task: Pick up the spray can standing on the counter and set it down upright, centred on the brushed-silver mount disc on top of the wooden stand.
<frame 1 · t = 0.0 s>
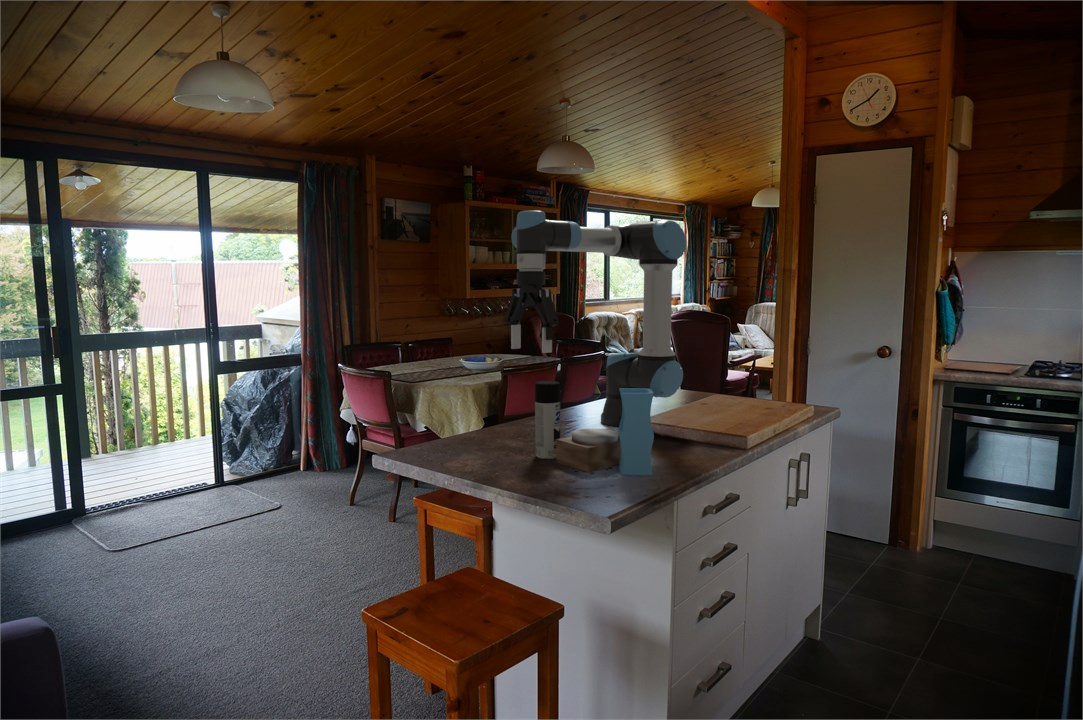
hand: (531, 350, 188), 28 cm above the countertop, fingers open, 13 cm apart
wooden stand: (594, 461, 182), on the countertop
spray can: (547, 457, 188), on the countertop
vase: (635, 471, 174), on the countertop
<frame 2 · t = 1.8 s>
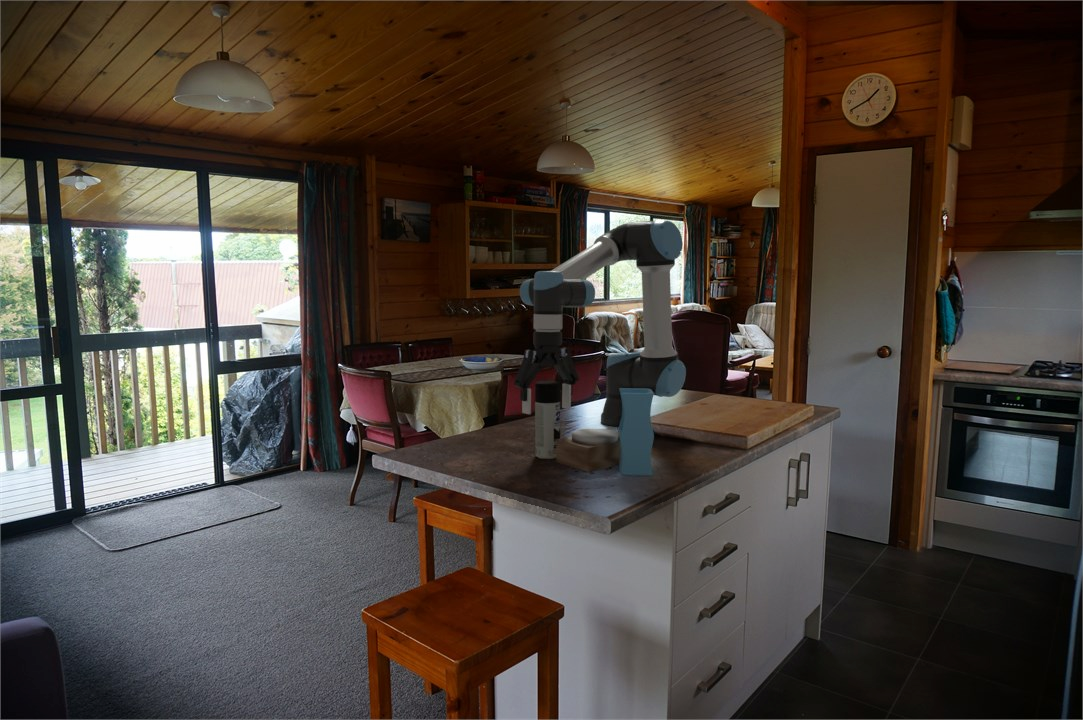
hand: (546, 410, 186), 12 cm above the countertop, fingers open, 13 cm apart
nothing on the countertop moved.
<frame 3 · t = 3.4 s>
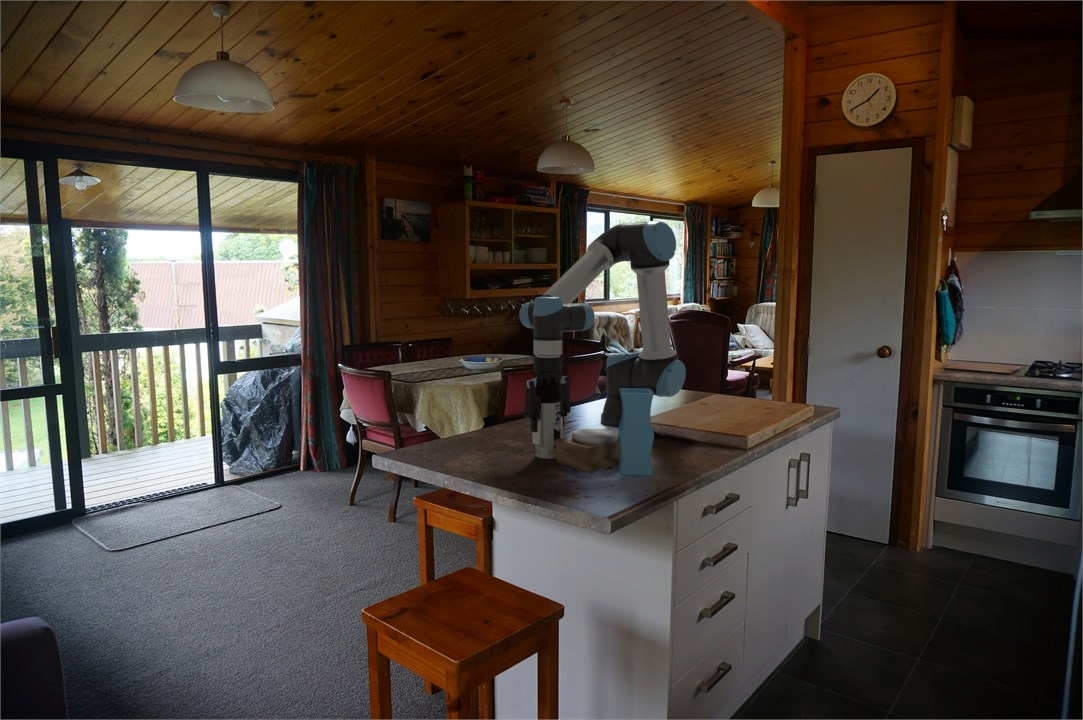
hand: (547, 441, 187), 4 cm above the countertop, fingers closed on spray can, 7 cm apart
spray can: (547, 457, 188), on the countertop, touching gripper
everything else where it was.
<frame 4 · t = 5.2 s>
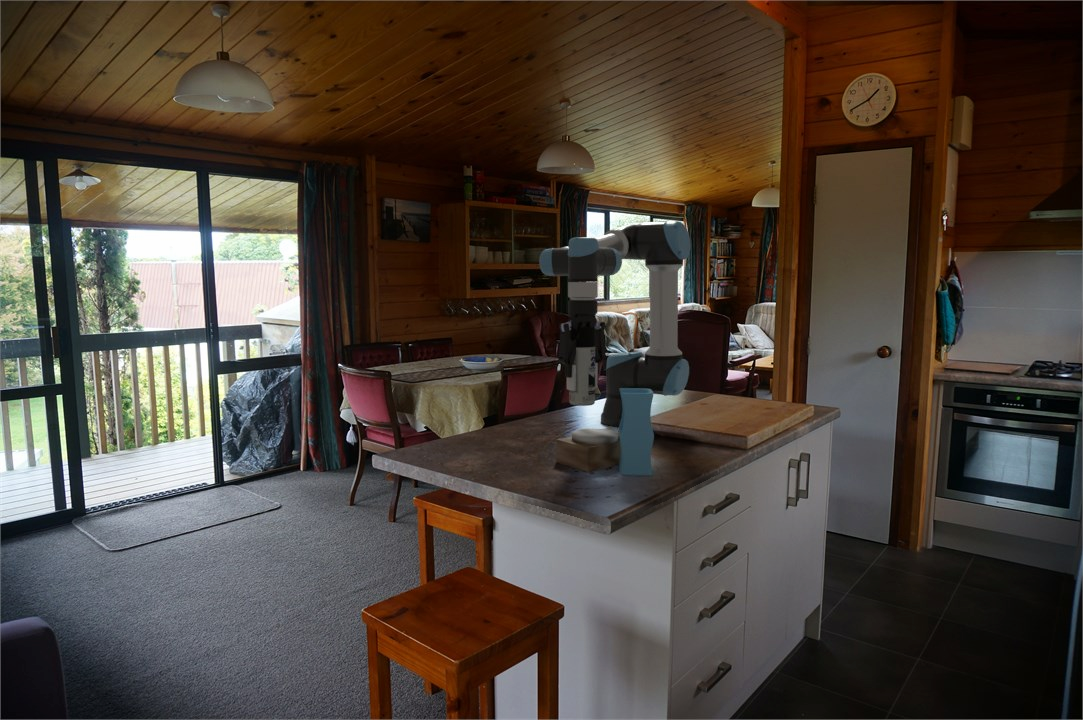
hand: (582, 388, 181), 19 cm above the countertop, fingers closed on spray can, 7 cm apart
spray can: (581, 404, 182), point 15 cm above the countertop, touching gripper
everything else where it was.
when the fingers open (12 cm above the countertop, at t = 7.0 s): spray can stays where it is, resting on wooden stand.
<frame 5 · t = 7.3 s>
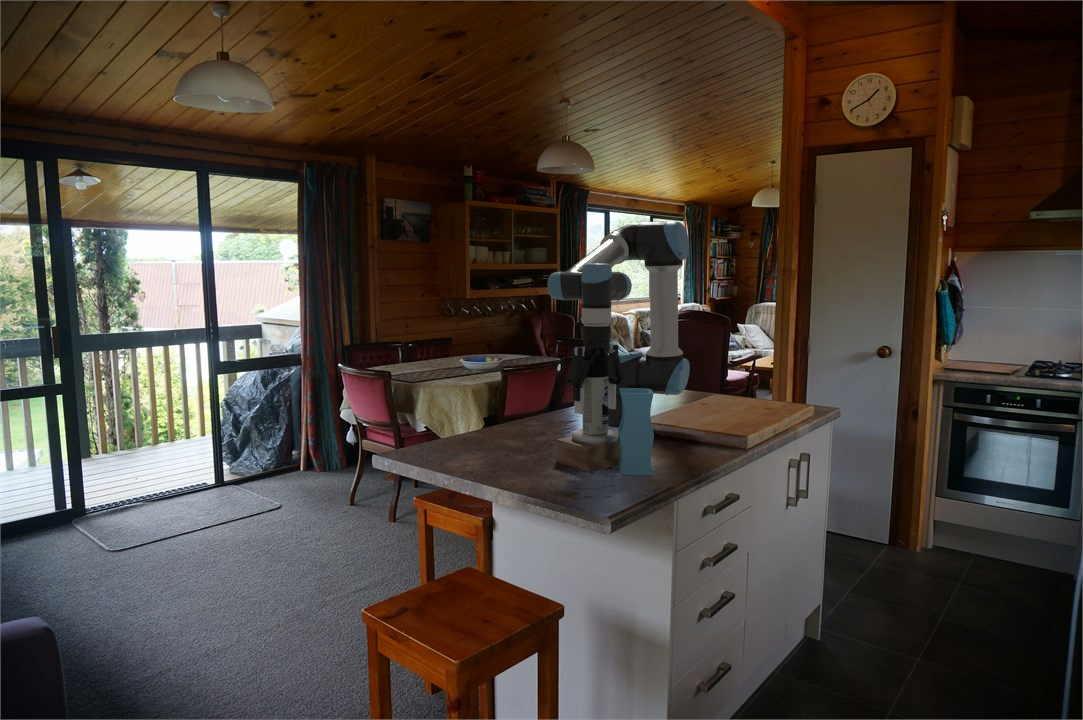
hand: (595, 411, 180), 13 cm above the countertop, fingers open, 10 cm apart
spray can: (595, 434, 181), point 7 cm above the countertop, touching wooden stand
everything else where it was.
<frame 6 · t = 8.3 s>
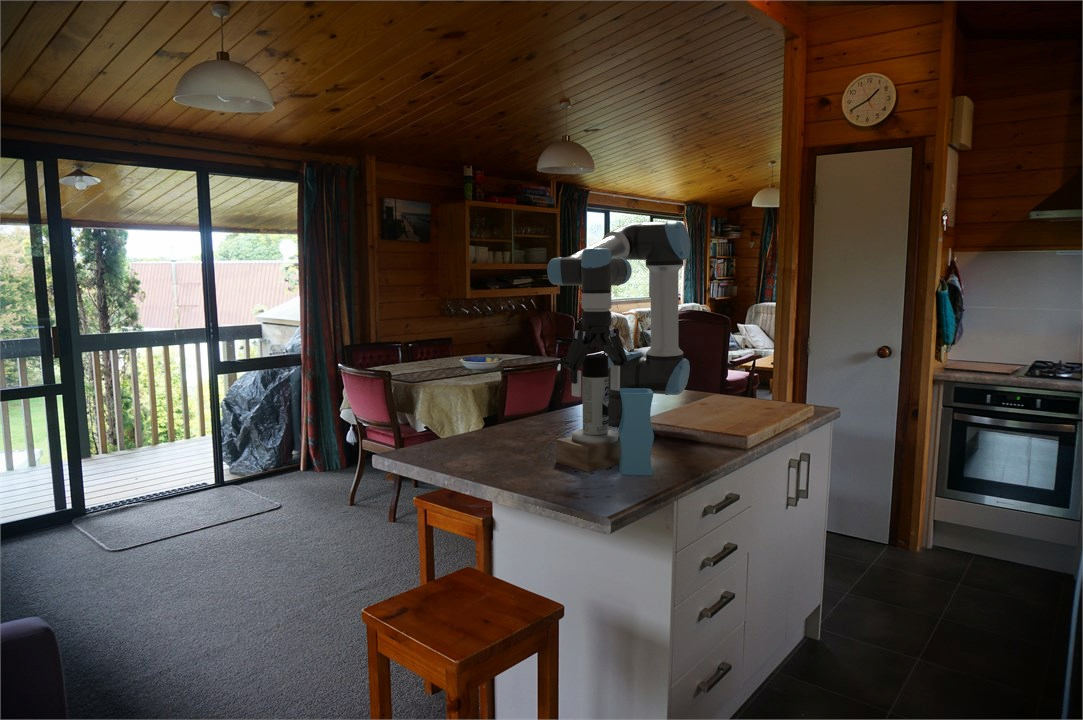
hand: (596, 393, 180), 18 cm above the countertop, fingers open, 13 cm apart
nothing on the countertop moved.
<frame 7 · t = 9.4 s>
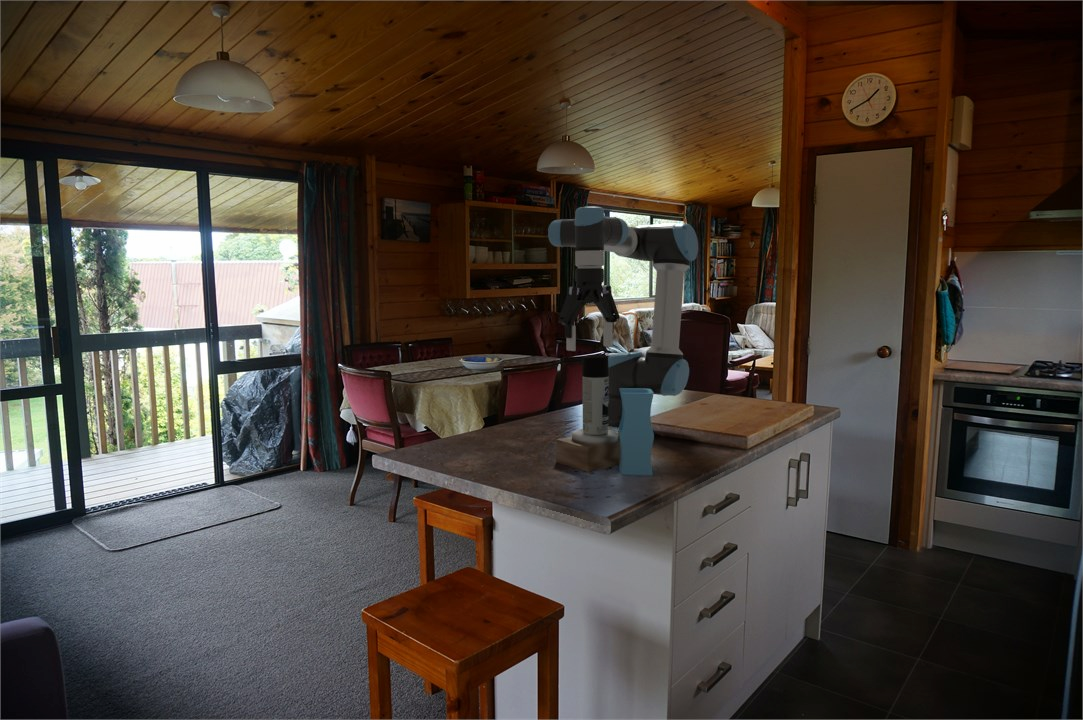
hand: (589, 348, 186), 29 cm above the countertop, fingers open, 13 cm apart
nothing on the countertop moved.
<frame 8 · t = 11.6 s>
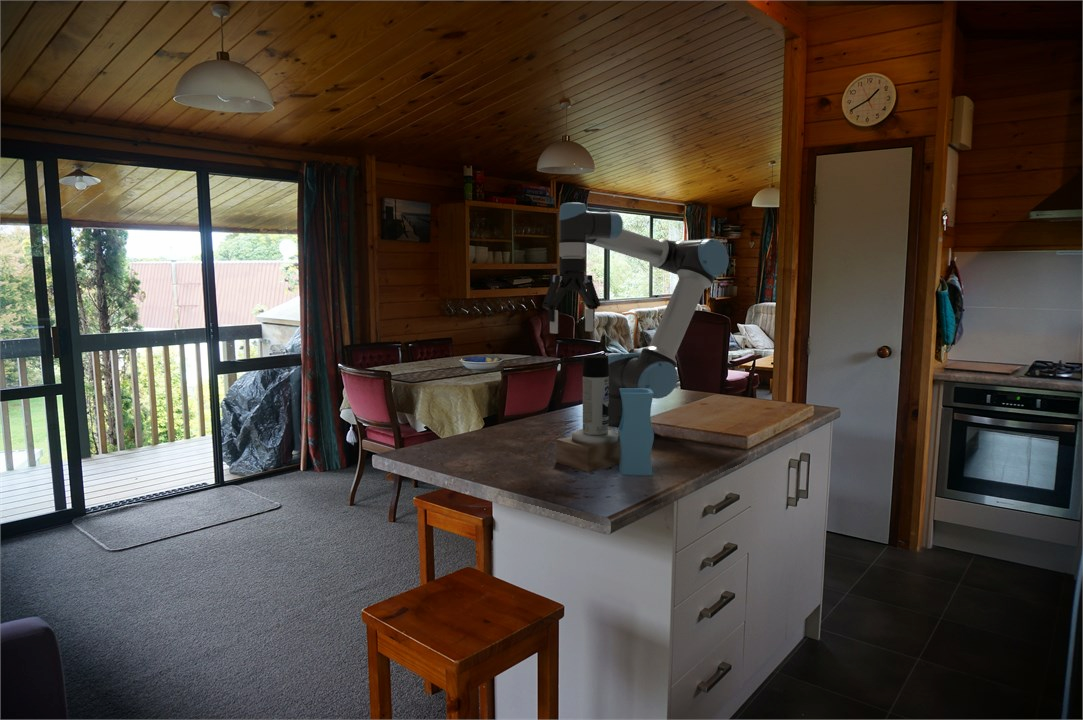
hand: (571, 332, 204), 32 cm above the countertop, fingers open, 13 cm apart
nothing on the countertop moved.
at the end: spray can 0.0 cm from the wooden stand (horizontally); spray can touching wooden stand; spray can tilted 0° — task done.
